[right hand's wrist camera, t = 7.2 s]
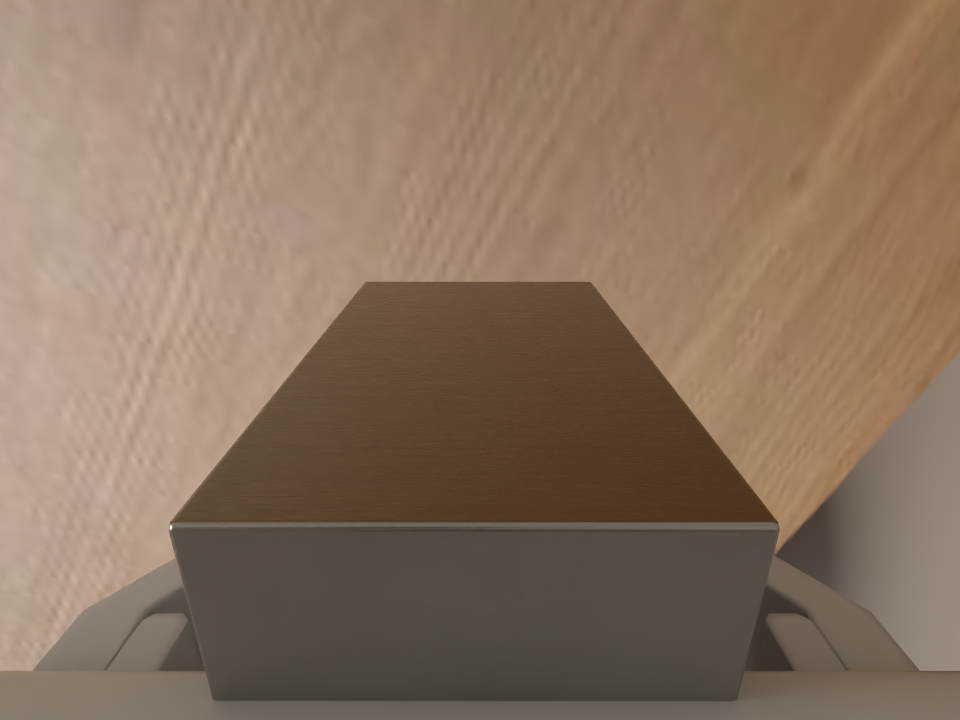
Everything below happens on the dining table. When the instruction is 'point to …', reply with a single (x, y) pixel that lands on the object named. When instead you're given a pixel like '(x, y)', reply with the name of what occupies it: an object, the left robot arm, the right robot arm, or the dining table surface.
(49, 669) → the right robot arm
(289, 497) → the bar
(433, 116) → the dining table surface
